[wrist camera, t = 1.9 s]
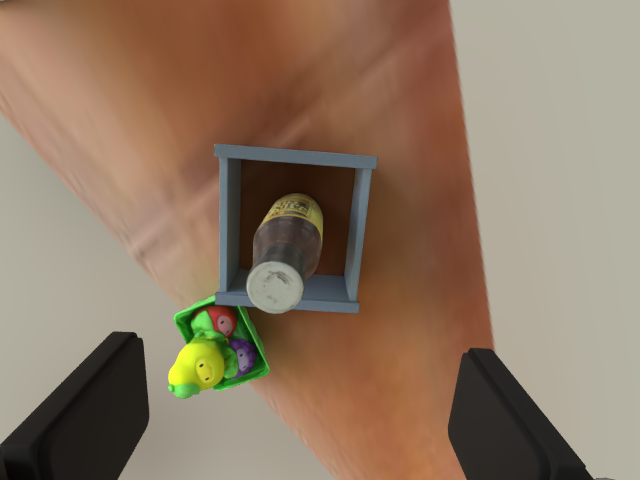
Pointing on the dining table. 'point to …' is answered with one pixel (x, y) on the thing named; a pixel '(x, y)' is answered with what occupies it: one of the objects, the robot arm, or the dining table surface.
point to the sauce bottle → (285, 253)
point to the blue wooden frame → (320, 288)
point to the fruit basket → (216, 349)
